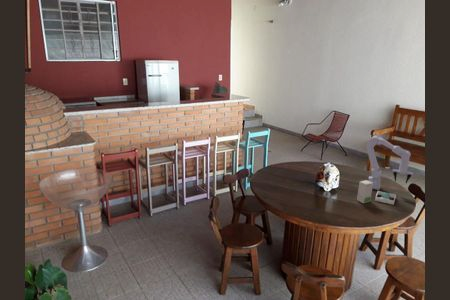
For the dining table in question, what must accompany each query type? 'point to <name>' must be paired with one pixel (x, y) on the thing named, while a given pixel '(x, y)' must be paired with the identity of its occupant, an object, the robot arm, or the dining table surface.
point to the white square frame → (385, 199)
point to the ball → (385, 195)
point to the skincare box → (364, 191)
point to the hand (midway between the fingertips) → (400, 182)
